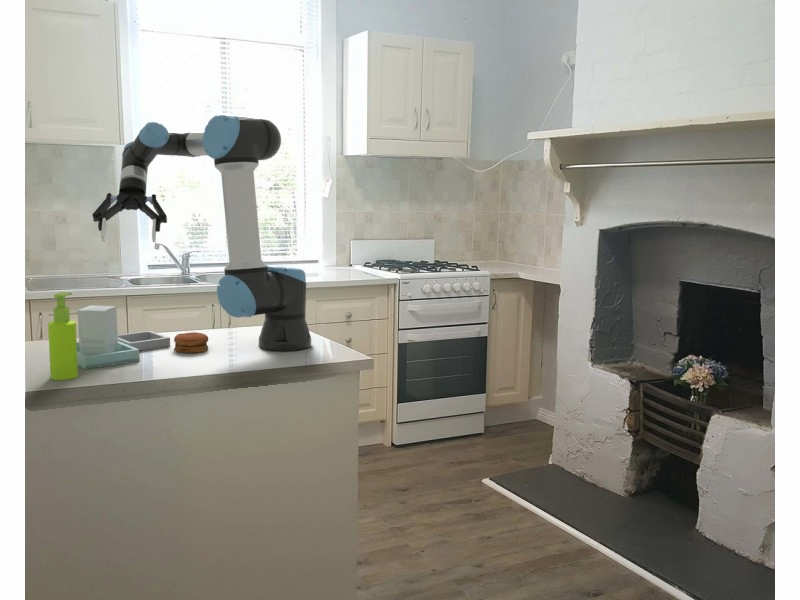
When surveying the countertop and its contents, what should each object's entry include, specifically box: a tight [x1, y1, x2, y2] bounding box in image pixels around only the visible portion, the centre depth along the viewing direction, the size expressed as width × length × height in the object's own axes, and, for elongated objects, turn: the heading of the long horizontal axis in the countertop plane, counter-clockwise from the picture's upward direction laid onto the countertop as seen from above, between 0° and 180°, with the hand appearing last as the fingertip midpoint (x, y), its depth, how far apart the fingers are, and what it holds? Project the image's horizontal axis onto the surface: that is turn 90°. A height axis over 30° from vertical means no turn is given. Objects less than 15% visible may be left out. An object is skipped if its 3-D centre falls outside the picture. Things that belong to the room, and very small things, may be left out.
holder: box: [117, 330, 171, 351], centre depth 204 cm, size 12×12×2 cm
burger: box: [173, 331, 209, 354], centre depth 201 cm, size 10×9×5 cm
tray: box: [77, 341, 141, 370], centre depth 189 cm, size 18×14×3 cm
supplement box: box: [76, 304, 119, 356], centre depth 188 cm, size 7×7×13 cm
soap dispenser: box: [47, 291, 79, 381], centre depth 170 cm, size 6×7×20 cm
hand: (128, 238), depth 205 cm, fingers open, 13 cm apart
